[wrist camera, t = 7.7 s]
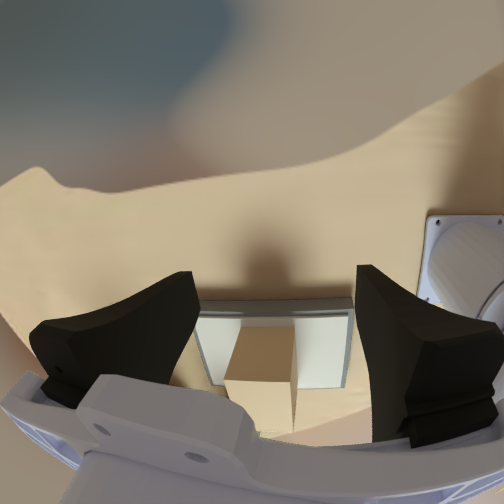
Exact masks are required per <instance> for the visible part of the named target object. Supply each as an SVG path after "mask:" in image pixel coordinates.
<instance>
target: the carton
mask: <svg viewBox="0 0 504 504" xmlns="http://www.w3.org/2000/svg"><path fill="white" fill-rule="evenodd" d="M223 380H224V383H225V386H226V390H227V393H228V396H229V399H230V400H231V401H233V402H235V403H237V404H239V405H240V406H242V407H243V408H244V409H245V410H246V412H247V413H248V414H249V416H250V417H251V418H252V420H253V421H254V424H255V428H256V431H265V432H293V430H294V420H295V410H296V398H297V387H298V371H297V351H296V333H295V326H287V327H241V328H240V331H239V334H238V337H237V340H236V343H235V346H234V349H233V352H232V355H231V358H230V361H229V364H228V367H227V370H226V373H225V376H224V379H223Z"/></svg>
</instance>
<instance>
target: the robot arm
mask: <svg viewBox="0 0 504 504" xmlns="http://www.w3.org/2000/svg"><path fill="white" fill-rule="evenodd" d="M499 219H500V221H499ZM437 220H439V223H438V224H436V221H437ZM498 221H499V223H498ZM426 298H428V299H427V300H425V299H426ZM436 303H442V305H443V306H444V308H445V309H442V308H440V307H437V306H435V305H433V304H436ZM200 310H201V307H200V303H199V300H198V296H197V292H196V288H195V283H194V279H193V275H192V271H180V272H177V273H174V274H172V275H170V276H168V277H166V278H164V279H162V280H161V281H159V282H157V283H155V284H153V285H151V286H150V287H148V288H146V289H144V290H142V291H140V292H138V293H136V294H134V295H132V296H131V297H129V298H126V299H124V300H122V301H120V302H117V303H115V304H112V305H110V306H107V307H104V308H101V309H98V310H95V311H92V312H89V313H85V314H81V315H77V316H72V317H66V318H59V319H52V320H44V321H42V322H41V323H40V324H39V325H38V326H37V327H36V328H35V329H34V330H32V331H31V332H30V335H29V341H30V345H31V348H32V350H33V352H34V354H35V355H36V357H37V359H38V360H39V362H40V363H41V365H42V366H43V368H44V369H45V371H46V372H47V374H48V375H49V377H48V378H47V380H46V381H45V380H44V379H43V378H42V377H41V376H39V375H37V374H35V373H33V372H30V371H26V373H25V374H24V375H23V376H22V377H21V378H20V379H19V381H18V382H17V383H16V384H15V385H14V386H13V388H12V389H11V390H10V391H9V393H7V395H6V396H5V397H4V398H3V399H2V401H1V402H0V406H1V408H2V409H3V410H4V411H5V413H6V414H7V415H8V416H9V417H10V418H11V419H12V420H13V421H14V423H15V424H16V425H17V426H18V427H19V428H20V429H21V430H22V431H23V432H24V433H25V434H26V435H27V436H28V437H29V438H30V439H31V440H32V441H33V442H35V443H36V444H38V445H39V446H40V447H42V448H43V449H45V450H46V451H47V452H49V453H50V454H52V455H53V456H55V457H56V458H58V459H59V460H60V461H62V462H63V463H65V464H67V465H68V466H70V467H72V468H73V469H74V470H76V471H77V472H76V473H75V475H74V477H73V478H72V480H71V482H70V484H69V486H68V487H67V489H66V491H65V493H64V495H63V497H62V499H61V500H60V502H59V504H458V503H461V502H463V501H465V500H467V499H470V498H472V497H474V496H476V495H479V494H481V493H483V492H485V491H487V490H489V489H491V488H494V487H495V486H497V485H499V484H501V483H503V482H504V215H432V216H429V217H428V218H427V221H426V231H425V241H424V251H423V259H422V266H421V273H420V279H419V285H418V291H417V296H415V295H414V294H412V293H410V292H409V291H407V290H406V289H404V288H403V287H401V286H400V285H398V284H397V283H395V282H394V281H393V280H391V279H390V278H389V277H387V276H386V275H385V274H384V273H382V272H381V271H380V270H378V269H377V268H376V267H374V266H373V265H371V264H370V265H357V275H356V293H355V314H356V321H357V327H358V331H359V335H360V339H361V342H362V346H363V350H364V354H365V358H366V362H367V366H368V372H369V380H370V390H371V404H372V434H373V435H372V443H366V444H356V445H343V446H323V447H322V446H321V447H313V446H306V445H299V444H293V443H287V442H282V441H276V440H271V439H267V438H262V437H258V435H257V432H256V428H255V424H254V421H253V420H252V418H251V417H250V416H249V414H248V413H247V412H246V410H245V409H244V408H243V407H242V406H240V405H239V404H237V403H235V402H233V401H231V400H230V399H228V398H226V397H224V396H222V395H218V394H214V393H211V392H207V391H203V390H198V389H190V388H183V387H177V386H171V385H168V384H169V381H170V378H171V375H172V373H173V370H174V368H175V365H176V363H177V361H178V359H179V357H180V355H181V353H182V351H183V349H184V348H185V346H186V344H187V342H188V340H189V338H190V336H191V334H192V332H193V330H194V328H195V326H196V323H197V320H198V317H199V314H200Z"/></svg>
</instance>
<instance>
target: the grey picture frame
mask: <svg viewBox="0 0 504 504" xmlns="http://www.w3.org/2000/svg"><path fill="white" fill-rule="evenodd" d="M199 303H200V307H201V310H200V314H199V317H198V320H197V323H196V326H195V328H194V330H193V332H194V335H195V338H196V341H197V345H198V348H199V351H200V354H201V357H202V360H203V363H204V366H205V369H206V372H207V375H208V378H209V381H210V383H211V385H217V386H225V383H224V380H223V379H224V376H225V373H226V370H227V367H228V364H229V361H230V358H231V355H232V352H233V349H234V346H235V343H236V340H237V337H238V334H239V331H240V328H241V327H287V326H295V333H296V351H297V371H298V387H297V389H333V388H345V383H346V376H347V369H348V362H349V355H350V347H351V338H352V329H353V318H354V305H353V301H352V297H347V298H326V299H299V300H246V301H216V300H199Z"/></svg>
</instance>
